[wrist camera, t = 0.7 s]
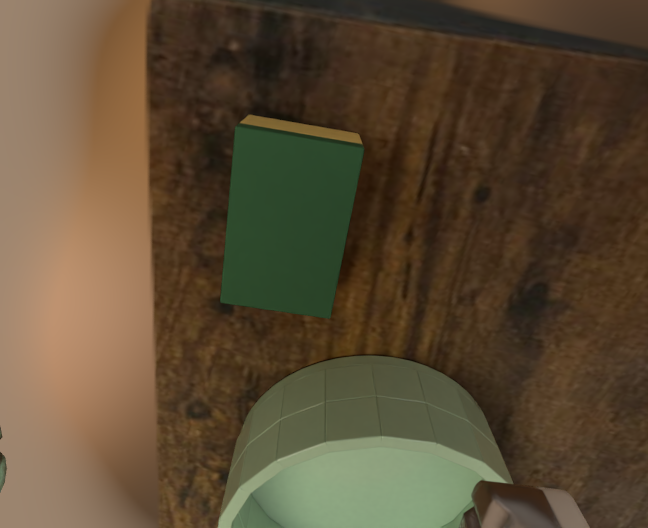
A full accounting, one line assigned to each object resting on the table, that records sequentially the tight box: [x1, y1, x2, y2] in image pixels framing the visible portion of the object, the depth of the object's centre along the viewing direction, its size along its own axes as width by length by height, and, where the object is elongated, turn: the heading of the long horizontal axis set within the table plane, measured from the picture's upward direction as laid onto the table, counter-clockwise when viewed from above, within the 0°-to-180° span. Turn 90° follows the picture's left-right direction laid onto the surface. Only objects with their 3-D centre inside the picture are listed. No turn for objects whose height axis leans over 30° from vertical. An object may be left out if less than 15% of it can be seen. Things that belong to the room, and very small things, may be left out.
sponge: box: [220, 115, 364, 319], centre depth 19 cm, size 7×4×3 cm, turn 170°
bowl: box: [218, 355, 514, 528], centre depth 24 cm, size 14×14×6 cm
